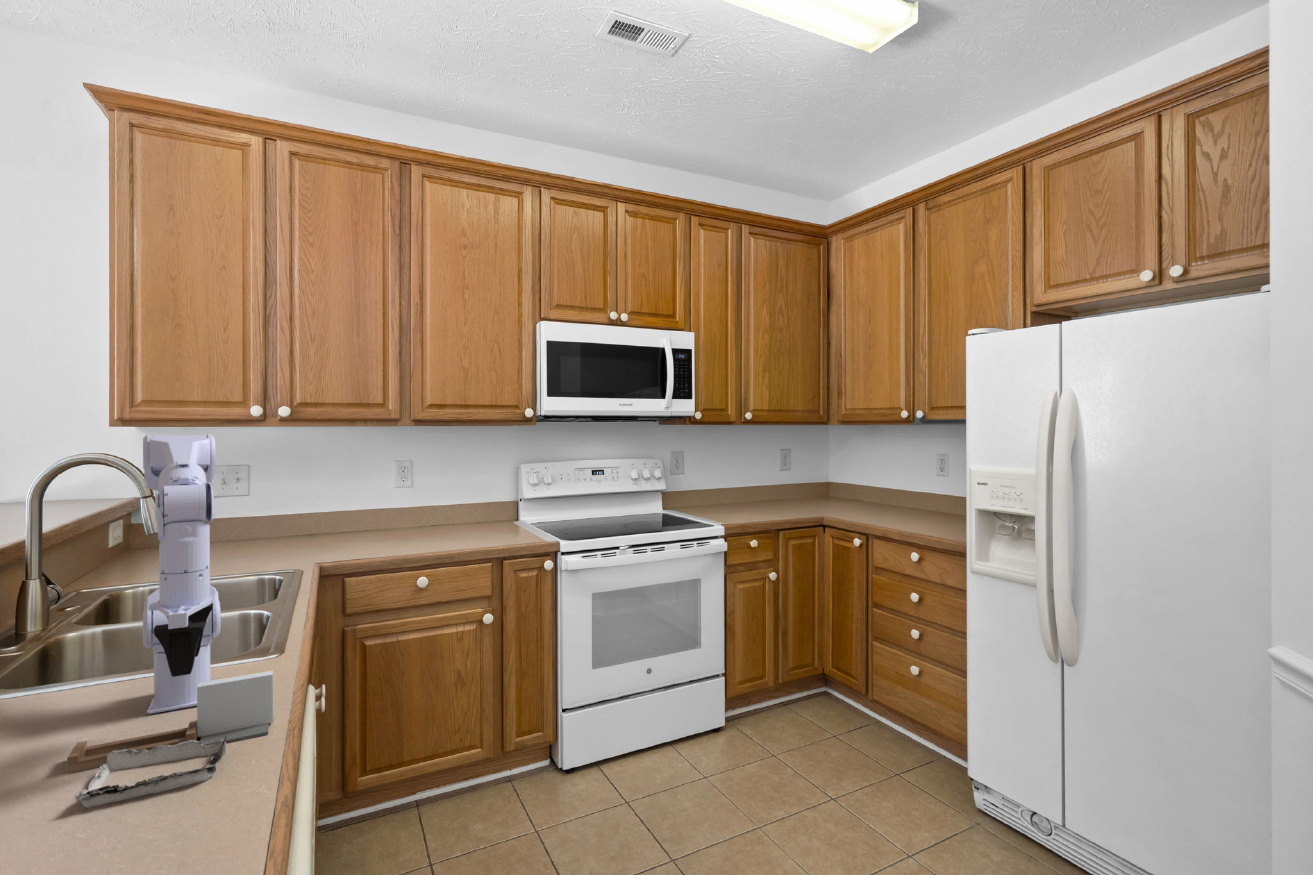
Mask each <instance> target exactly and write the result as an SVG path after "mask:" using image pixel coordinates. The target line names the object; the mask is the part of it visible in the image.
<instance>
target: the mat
mask: <svg viewBox="0 0 1313 875" xmlns="http://www.w3.org/2000/svg"><path fill="white" fill-rule="evenodd" d="M269 725H270V723H266V724H261V725H256V726H251V727H246V728H241V729H236V730H231V731H226V732H221V733H216V734H211V735H206V736H201V737H200V740H199V741H202V742H201V743H202V744H203V745H205V746H207V745H211V744H214V743H215V740H217V739H218V740H224V739H225V737H226V736H228V738H227V739H226V744H228V743H234V742H238V741H242V740H244V741H245V740H249V739H253V738H259V737H262V736H267V735H269V728H270V727H269Z"/></svg>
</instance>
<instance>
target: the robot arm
mask: <svg viewBox="0 0 1313 875" xmlns="http://www.w3.org/2000/svg"><path fill="white" fill-rule="evenodd" d="M216 452H217V450H216V439H215V437H214V436H213V435H212V434H211V433H207V435H206V434H152V433H147V434H146V435H145V436H144V437H142V466H143V470H144V471H143V472H144V474H143V475H144V482H145V483H146V488H147V489H149V490H151V491H154V496H155V497H154V498H155V499H154V506H155V507H154V510H155V514H154V515H155V516H154V518H155V523H156V528H157V538H158V539H157V540H158V541H160V542H159V544H158V547H159V548H158V551H159V552H158V561H159V564H158V565H159V567H158V568H159V577H158V578H159V579H158V581H159V584H158V586H159V588H157V589H156V590H154V591H153V592H151V593H150V594H149V595H147V596H146V600H144V601H143V611H142V645H143V647H145V648H146V649H151V648H152V653H153V698H152V700H151V702H150V704H149V705H148V709H147V710H146V714H148V715H151V714H157V713H162V712H167V711H174V710H179V709H186V708H191V707H197V686H198V683H200V682H206V681H211V644H212V640H213V639H212V638H216V637H218V635H220V633H221V617H222V616H221V602H220V600H219V591H217V588H215V587H214V586H212V585H211V567H210V566H211V559H210V558H211V555H210V554H211V553H210V552H211V542H210V540H211V539H210V538H211V536H210V534H211V529H210V528H211V527H210V524H212V522H213V518H214V515H215V514H214V513H215V510H214V509H215V501H214V500H215V497H214V489H213V486H212V483H213V479H214V476H215V466H216V455H217V454H216ZM207 521H208V522H209V523H208V522H207Z"/></svg>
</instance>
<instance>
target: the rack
mask: <svg viewBox="0 0 1313 875" xmlns="http://www.w3.org/2000/svg"><path fill="white" fill-rule="evenodd" d="M187 726H188V727H183V728H177V729H173V730H168V731H163V732H157V733H153V734H152V733H151V734H146V735H141V736H137V737H132V738H131V737H130V738H126V739H121V740H115V741H110V742H105V743H104V742H103V743H100V744H94V745H89V746H88V740H84V741H77V742H76V743H75V745H74V746H73V748H72V750H71V751H70V753H69V755H68V756H66V757H67V758H66V761H67V762H66V763H67V764H66V766H67V771H66V773H67V774H70V773H76V772H81V771H85V770H89V769H95V768H100V766H103V764H104V765H105V764H106V763H107V755H108V754H110V753H111V752H112V751H113V750H130V749H134V750H136V751H141V750H142V749H146V750H152V748H154V747H155V746H159V745H170V746H171V745H176V744H178V743H182V742H185V741H189V740H196V741H198V738H199V737H197V719H196V720H190V721H189V723H188V725H187Z"/></svg>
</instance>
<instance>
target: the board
mask: <svg viewBox="0 0 1313 875" xmlns="http://www.w3.org/2000/svg"><path fill="white" fill-rule="evenodd" d="M196 710H197V712H196V720H197V737H198V738H201V736H206V735H211V734H216V733H221V732H226V731H231V730H236V729H241V728H246V727H251V726H256V725H261V724H266V723H269V724H270V723H271V724H272V723H273V722H274V671H273V670H268V671H260V672H256V673H249V674H243V675H238V676H237V675H236V676H232V677H225V678H220V679H219V678H218V679H213V680H210V681H206V682H200V683H198V686H197V706H196Z"/></svg>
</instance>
